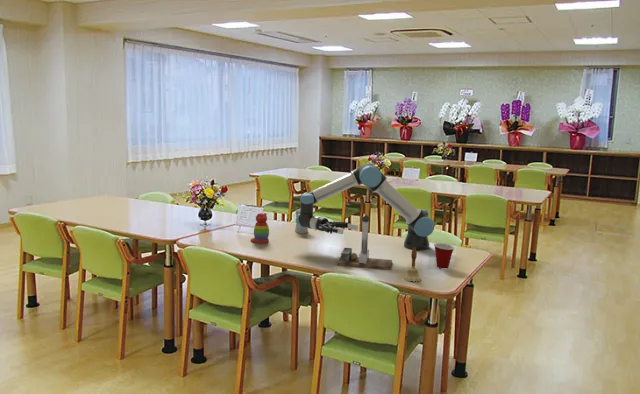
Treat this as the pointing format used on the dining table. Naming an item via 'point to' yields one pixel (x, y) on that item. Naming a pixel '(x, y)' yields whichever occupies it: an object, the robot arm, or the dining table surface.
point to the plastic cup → (443, 254)
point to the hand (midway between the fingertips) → (350, 229)
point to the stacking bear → (261, 229)
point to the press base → (353, 261)
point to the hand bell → (413, 269)
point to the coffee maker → (298, 228)
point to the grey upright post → (364, 241)
